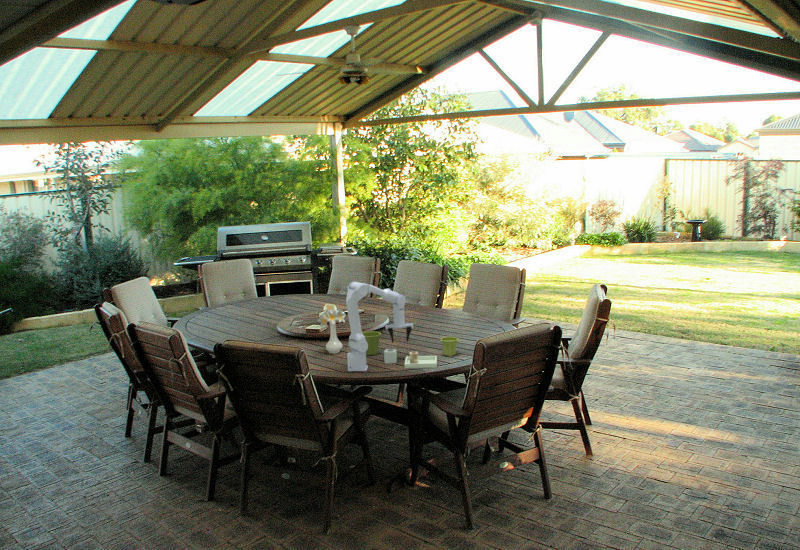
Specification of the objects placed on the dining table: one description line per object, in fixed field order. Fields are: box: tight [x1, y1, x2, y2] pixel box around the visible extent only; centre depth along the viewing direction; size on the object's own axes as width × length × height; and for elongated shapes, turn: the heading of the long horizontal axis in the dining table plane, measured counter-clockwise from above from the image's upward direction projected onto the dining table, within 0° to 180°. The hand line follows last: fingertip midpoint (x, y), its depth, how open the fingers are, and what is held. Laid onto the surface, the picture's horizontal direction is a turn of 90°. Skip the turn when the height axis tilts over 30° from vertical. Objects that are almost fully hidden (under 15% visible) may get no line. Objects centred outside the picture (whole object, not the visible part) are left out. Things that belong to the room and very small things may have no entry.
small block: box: [409, 351, 419, 364], centre depth 318 cm, size 4×4×6 cm
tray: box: [404, 355, 438, 370], centre depth 319 cm, size 16×14×2 cm
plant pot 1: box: [362, 331, 382, 356], centre depth 343 cm, size 12×12×11 cm
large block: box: [383, 348, 398, 364], centre depth 327 cm, size 6×6×6 cm
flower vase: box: [316, 306, 347, 355], centre depth 348 cm, size 13×18×25 cm
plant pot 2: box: [440, 336, 459, 357], centre depth 335 cm, size 9×9×9 cm
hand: (400, 341), depth 330 cm, fingers open, 7 cm apart
